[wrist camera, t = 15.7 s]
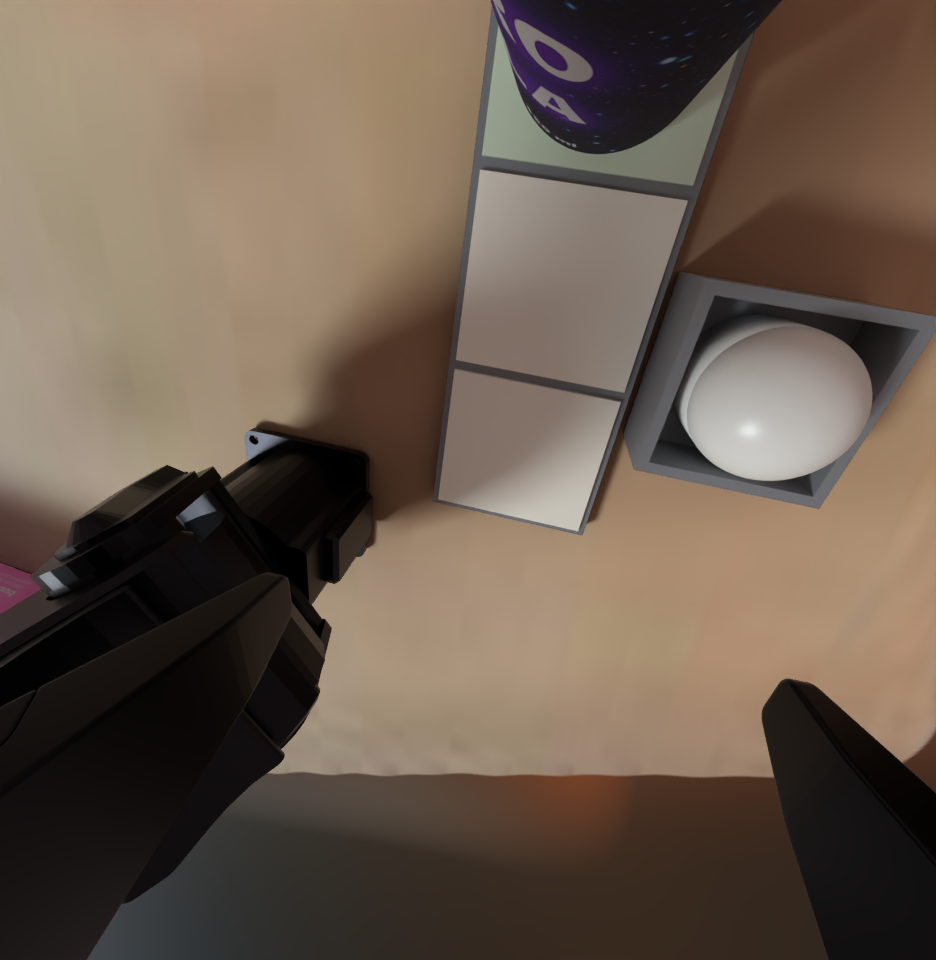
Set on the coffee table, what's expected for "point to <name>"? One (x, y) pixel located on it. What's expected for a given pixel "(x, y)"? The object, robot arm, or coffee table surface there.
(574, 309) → the game board
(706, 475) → the dome base
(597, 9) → the beverage can
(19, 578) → the gum box
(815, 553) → the coffee table surface
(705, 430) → the dome
